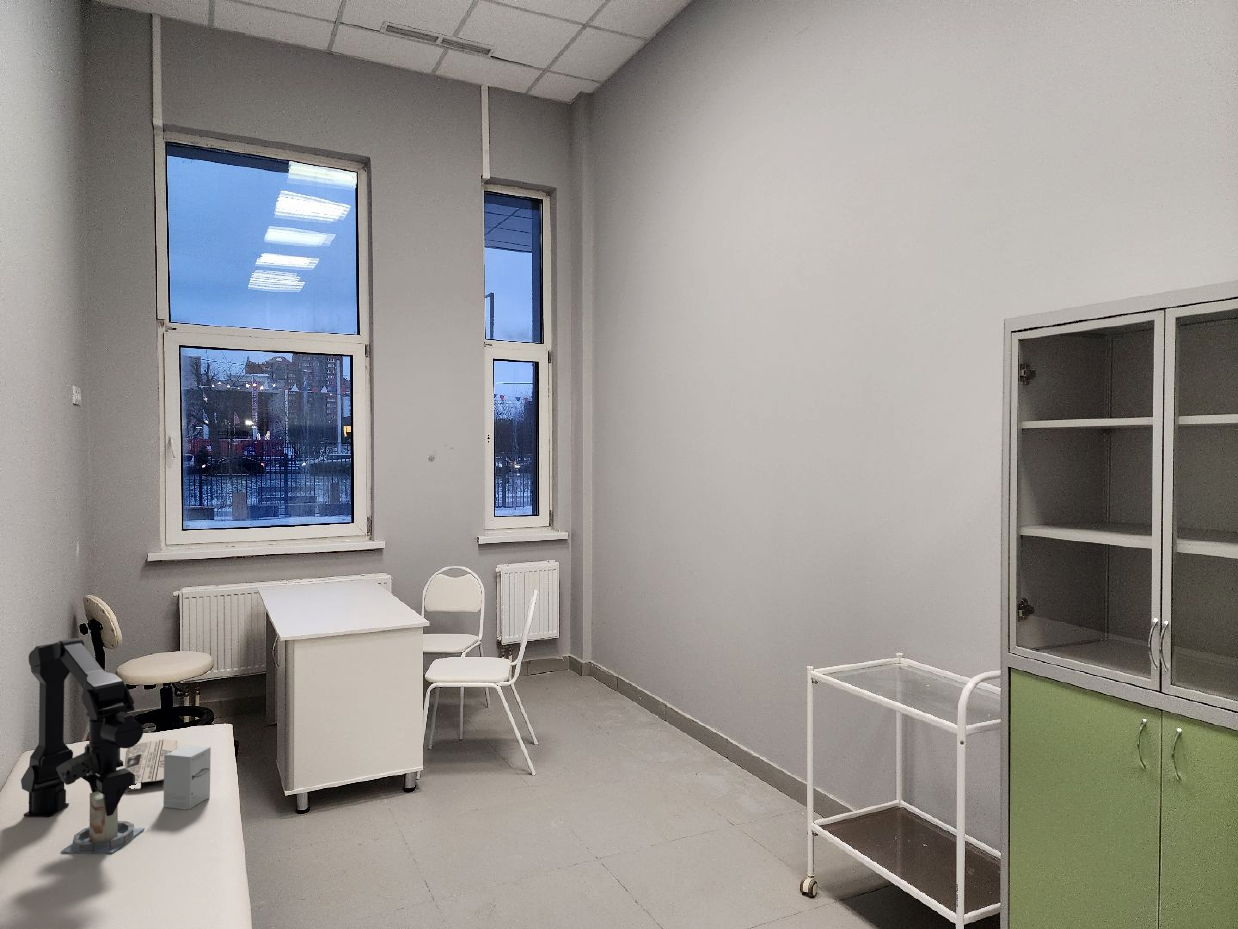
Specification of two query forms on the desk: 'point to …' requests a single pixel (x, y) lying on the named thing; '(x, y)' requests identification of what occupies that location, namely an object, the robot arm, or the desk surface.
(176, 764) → the supplement box
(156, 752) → the newspaper
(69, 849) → the collar
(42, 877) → the desk surface
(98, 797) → the skincare box
